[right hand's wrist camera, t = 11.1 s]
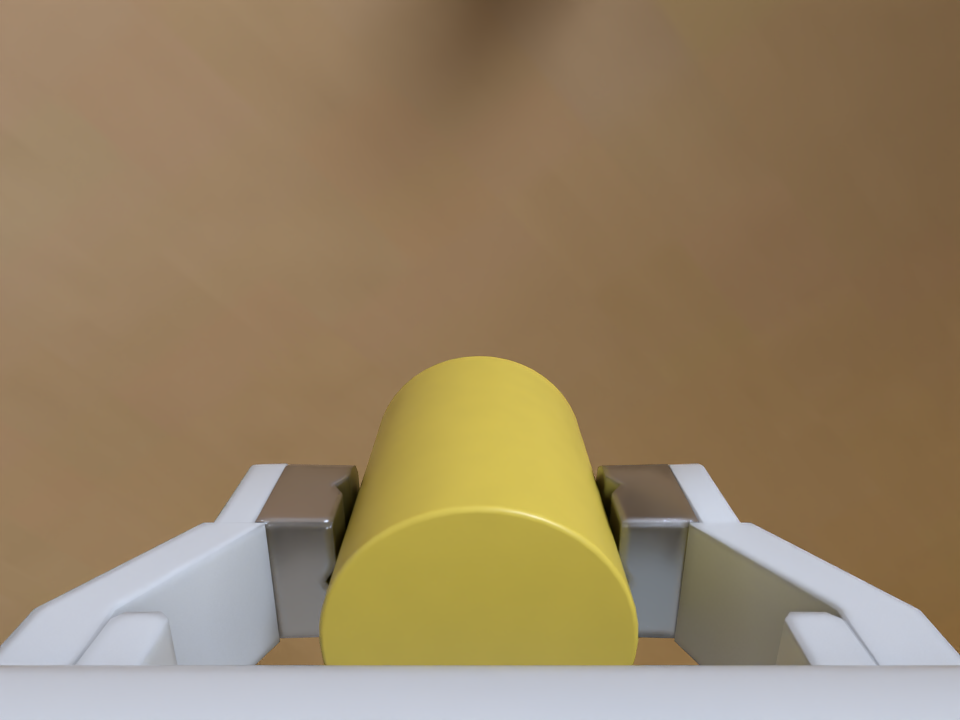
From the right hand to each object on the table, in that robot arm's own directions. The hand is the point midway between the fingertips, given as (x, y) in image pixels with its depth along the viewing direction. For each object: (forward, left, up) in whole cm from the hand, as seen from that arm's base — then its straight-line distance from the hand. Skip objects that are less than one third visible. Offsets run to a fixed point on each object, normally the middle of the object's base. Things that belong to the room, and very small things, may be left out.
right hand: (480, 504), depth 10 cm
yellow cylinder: (0, 0, -2) cm, 2 cm away
